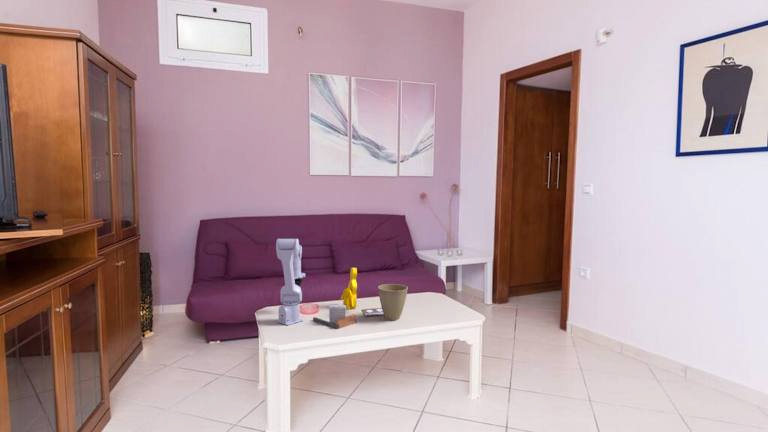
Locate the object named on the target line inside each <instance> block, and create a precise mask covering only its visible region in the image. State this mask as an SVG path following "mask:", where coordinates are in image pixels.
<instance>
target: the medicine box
mask: <svg viewBox="0 0 768 432" xmlns="http://www.w3.org/2000/svg"><path fill="white" fill-rule="evenodd" d="M328 313H329V314H328V315H329V321H328V322H331V323H334V324H336V320H337V319H340V318H343V317H347V309H346V305H343V304H330V305H329V311H328Z"/></svg>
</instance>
